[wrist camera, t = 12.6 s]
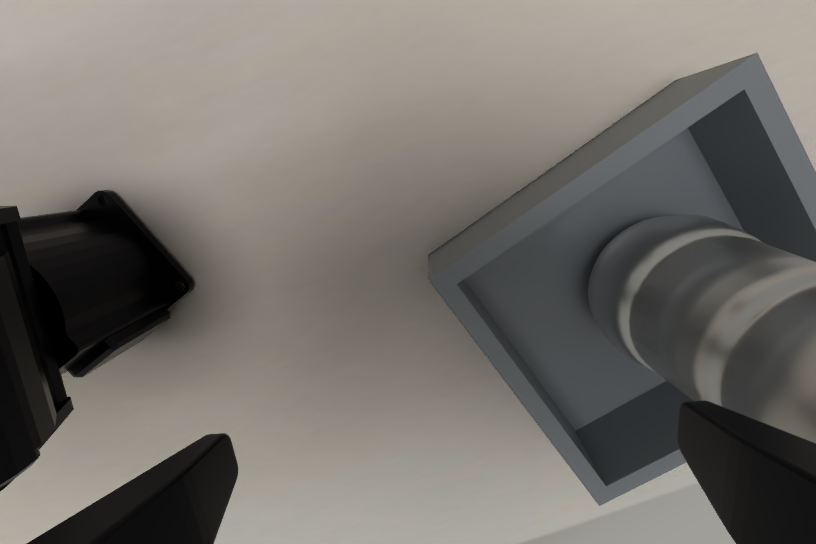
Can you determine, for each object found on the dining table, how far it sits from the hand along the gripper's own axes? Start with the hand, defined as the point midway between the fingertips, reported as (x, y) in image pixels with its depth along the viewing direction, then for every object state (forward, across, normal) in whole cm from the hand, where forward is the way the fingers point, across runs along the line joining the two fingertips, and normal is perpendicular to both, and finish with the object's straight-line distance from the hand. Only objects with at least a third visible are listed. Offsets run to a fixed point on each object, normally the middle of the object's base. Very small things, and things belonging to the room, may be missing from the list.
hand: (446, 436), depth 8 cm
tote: (+13, -9, +2) cm, 16 cm away
